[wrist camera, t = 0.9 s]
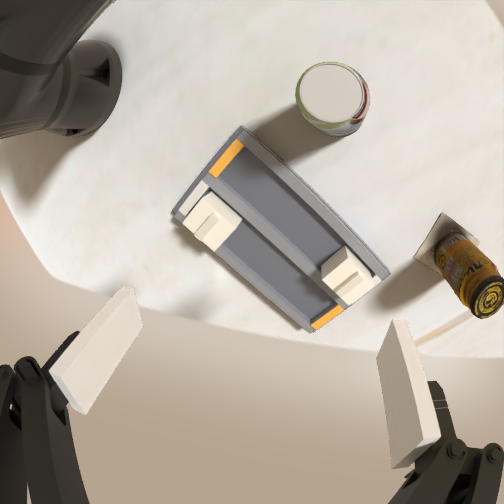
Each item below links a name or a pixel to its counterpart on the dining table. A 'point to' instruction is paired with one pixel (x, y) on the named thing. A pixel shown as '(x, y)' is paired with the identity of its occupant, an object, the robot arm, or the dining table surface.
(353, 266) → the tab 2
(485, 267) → the condiment
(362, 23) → the dining table surface
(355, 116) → the beverage can
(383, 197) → the dining table surface
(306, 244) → the switch bank
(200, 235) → the tab
